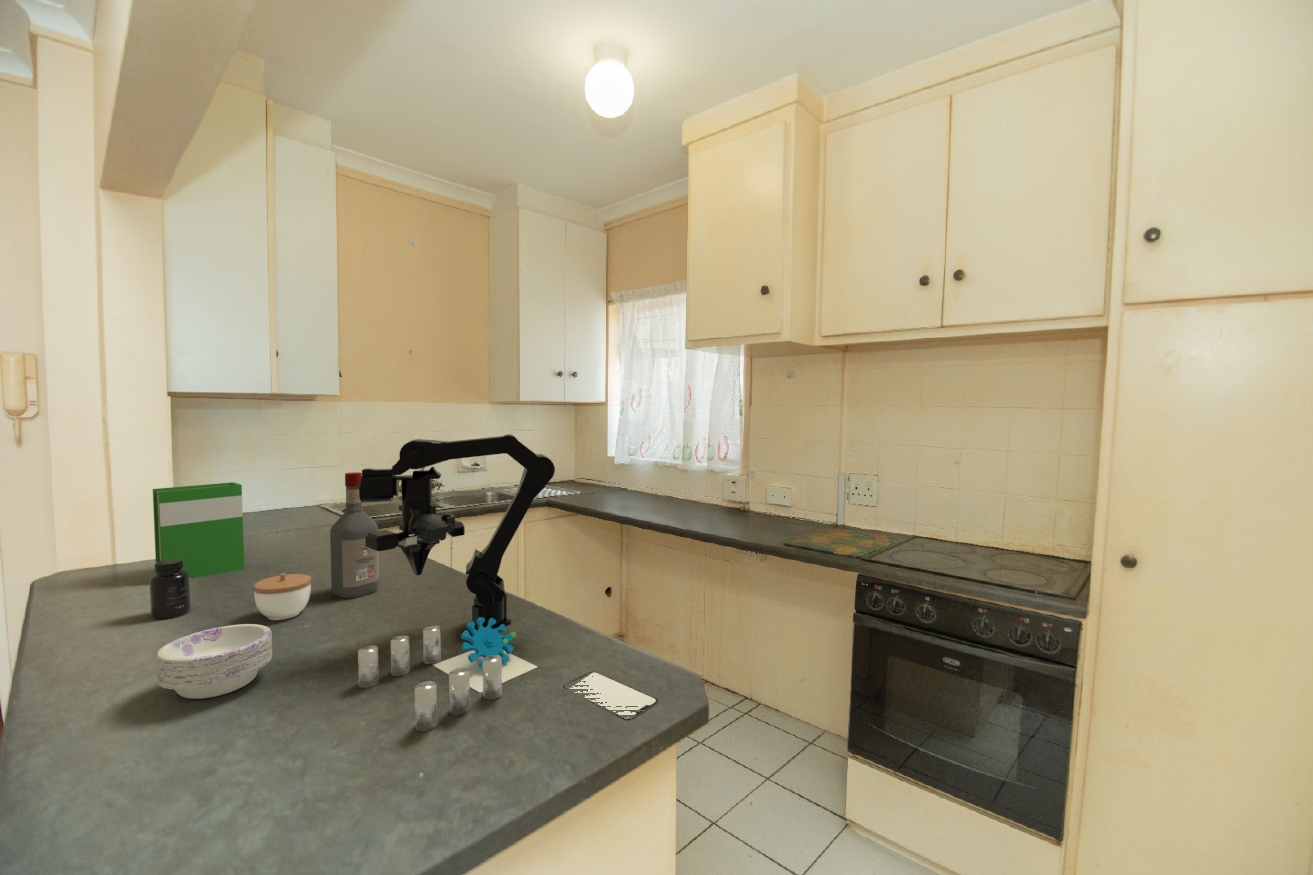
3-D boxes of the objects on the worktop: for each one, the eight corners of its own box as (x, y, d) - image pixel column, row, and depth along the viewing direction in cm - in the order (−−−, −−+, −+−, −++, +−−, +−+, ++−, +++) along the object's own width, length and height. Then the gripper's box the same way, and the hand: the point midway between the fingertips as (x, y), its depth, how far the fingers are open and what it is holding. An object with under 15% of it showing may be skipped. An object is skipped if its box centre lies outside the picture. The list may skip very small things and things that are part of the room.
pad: (489, 644, 112) (489, 643, 112) (537, 667, 102) (537, 666, 102) (432, 665, 102) (432, 664, 102) (480, 693, 93) (480, 692, 93)
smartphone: (559, 689, 95) (628, 723, 85) (559, 686, 95) (628, 720, 85) (593, 672, 101) (661, 702, 91) (593, 669, 101) (661, 699, 91)
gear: (473, 670, 97) (457, 618, 102) (458, 687, 99) (443, 635, 104) (526, 658, 105) (510, 610, 110) (511, 674, 107) (495, 626, 112)
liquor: (383, 590, 142) (381, 472, 141) (347, 600, 135) (344, 476, 133) (363, 583, 147) (361, 470, 145) (327, 593, 140) (324, 473, 138)
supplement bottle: (143, 617, 123) (141, 563, 122) (179, 606, 129) (177, 555, 129) (162, 622, 120) (160, 567, 120) (198, 611, 127) (196, 559, 126)
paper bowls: (211, 663, 102) (209, 620, 102) (293, 665, 102) (291, 622, 101) (130, 708, 87) (128, 658, 87) (226, 711, 87) (224, 661, 86)
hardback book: (162, 583, 145) (158, 492, 144) (156, 578, 150) (152, 489, 148) (244, 568, 159) (241, 484, 158) (236, 563, 164) (233, 482, 162)
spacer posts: (435, 655, 106) (435, 624, 106) (505, 694, 93) (505, 658, 92) (355, 684, 95) (354, 649, 95) (421, 733, 81) (421, 693, 81)
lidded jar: (265, 628, 118) (263, 584, 117) (247, 616, 124) (245, 574, 124) (320, 613, 126) (319, 572, 126) (300, 603, 133) (299, 564, 132)
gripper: (390, 512, 103) (391, 595, 104) (479, 499, 118) (479, 572, 119) (363, 504, 110) (365, 582, 111) (450, 493, 125) (451, 562, 126)
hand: (418, 574), depth 117 cm, fingers closed
